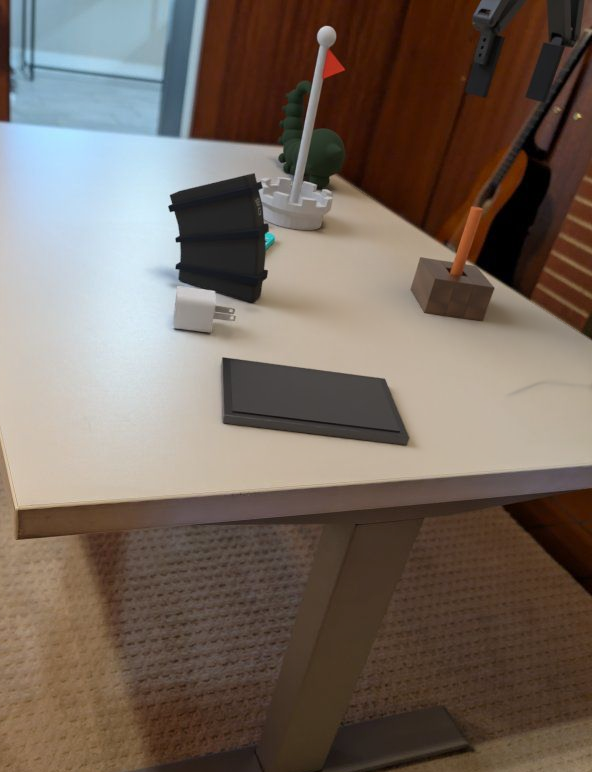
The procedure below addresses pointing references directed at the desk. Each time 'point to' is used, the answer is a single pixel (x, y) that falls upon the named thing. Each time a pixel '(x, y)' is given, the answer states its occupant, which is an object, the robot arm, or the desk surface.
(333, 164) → the toy figurine
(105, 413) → the desk surface
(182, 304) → the usb wall charger
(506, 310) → the desk surface
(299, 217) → the flag stand
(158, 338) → the desk surface
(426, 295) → the pen stand
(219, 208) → the magazine
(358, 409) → the tablet
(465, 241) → the orange rod
